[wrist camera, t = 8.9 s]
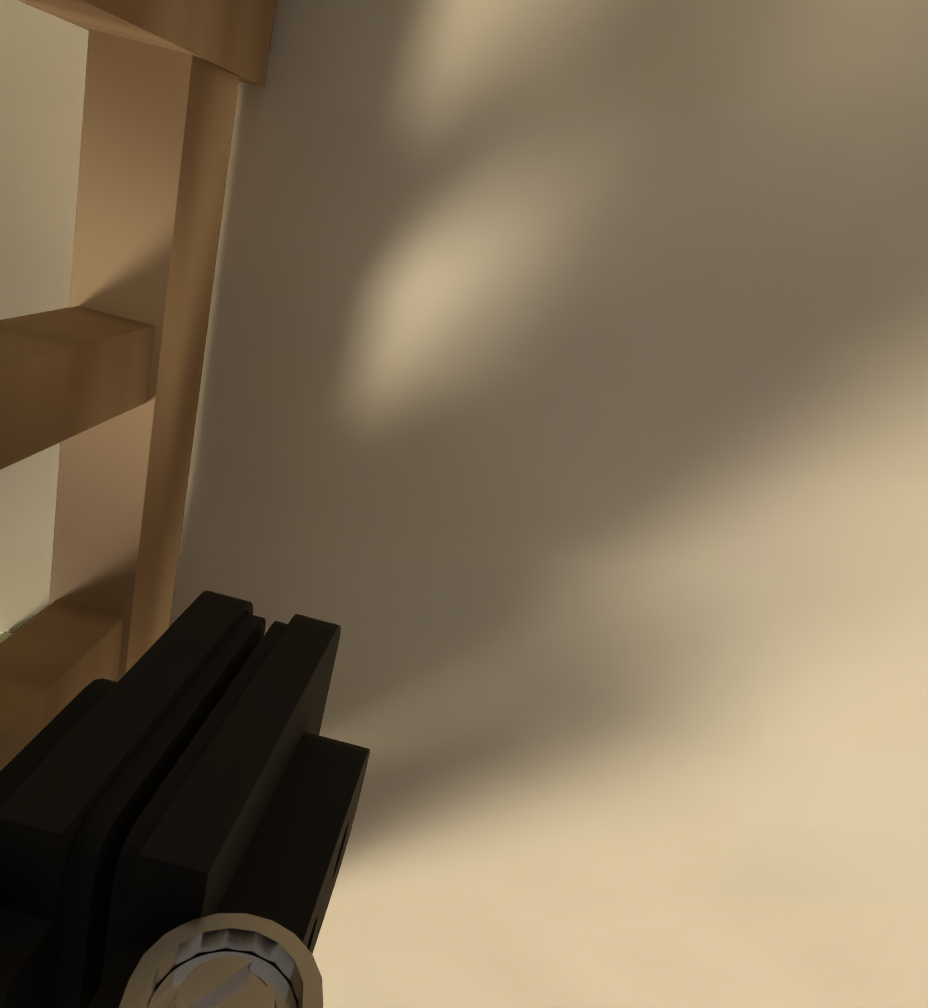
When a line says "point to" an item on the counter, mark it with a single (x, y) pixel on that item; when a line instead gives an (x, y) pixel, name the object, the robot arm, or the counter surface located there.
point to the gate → (124, 338)
